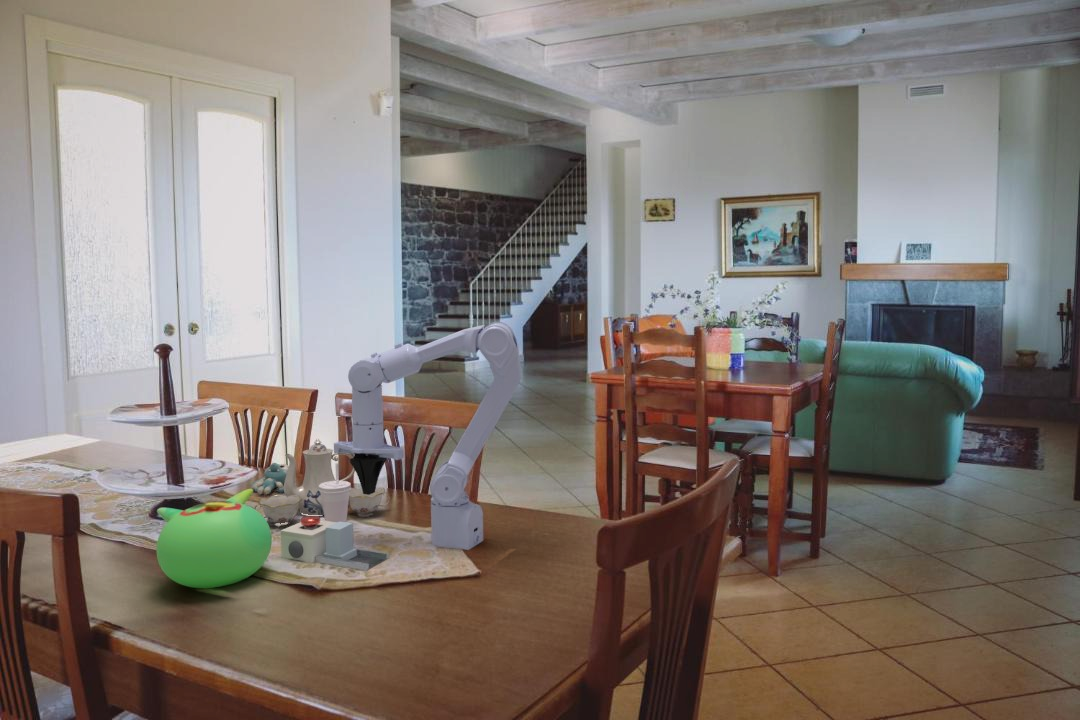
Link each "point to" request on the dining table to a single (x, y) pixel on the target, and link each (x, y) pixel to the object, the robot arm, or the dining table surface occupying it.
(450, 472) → the robot arm
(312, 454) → the chinaware
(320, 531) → the end cabinet
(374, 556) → the rail
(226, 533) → the green rounded blob
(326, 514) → the smoothie
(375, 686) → the dining table surface
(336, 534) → the carriage
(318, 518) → the red push button
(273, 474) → the stuffed animal
